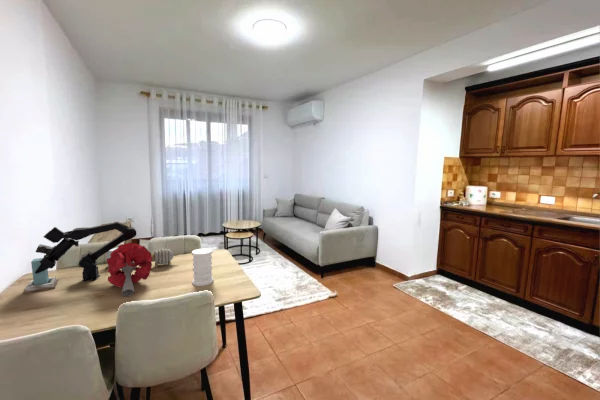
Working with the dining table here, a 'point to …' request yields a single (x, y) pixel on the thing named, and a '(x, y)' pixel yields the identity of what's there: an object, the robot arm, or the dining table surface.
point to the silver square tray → (41, 286)
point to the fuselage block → (39, 277)
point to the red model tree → (129, 266)
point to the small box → (110, 253)
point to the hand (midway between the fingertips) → (36, 271)
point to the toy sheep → (162, 256)
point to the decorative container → (202, 267)
